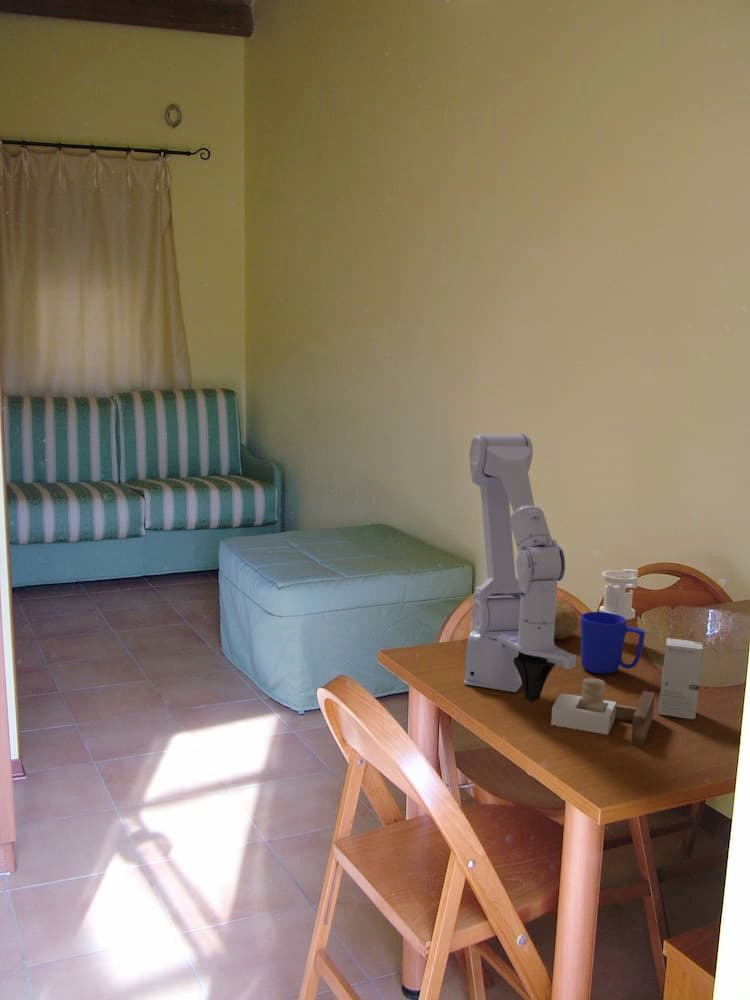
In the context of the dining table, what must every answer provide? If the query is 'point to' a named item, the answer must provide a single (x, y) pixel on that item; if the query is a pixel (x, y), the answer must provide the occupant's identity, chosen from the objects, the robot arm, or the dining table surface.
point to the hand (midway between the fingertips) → (532, 699)
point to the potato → (564, 619)
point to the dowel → (593, 694)
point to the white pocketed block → (582, 715)
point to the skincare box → (681, 678)
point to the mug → (605, 642)
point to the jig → (638, 716)
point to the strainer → (619, 592)
